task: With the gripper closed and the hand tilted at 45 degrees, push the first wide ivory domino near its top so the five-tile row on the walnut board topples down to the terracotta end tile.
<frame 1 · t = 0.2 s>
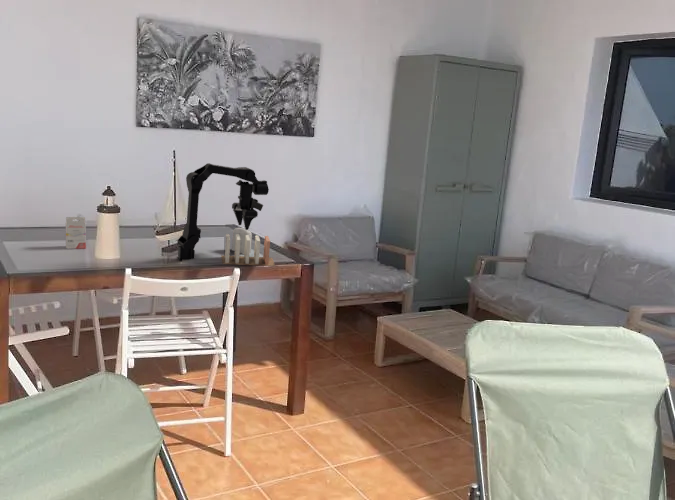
hand: (243, 227, 324), 14 cm above the table, tool pointing down, fingers open, 9 cm apart
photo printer: (241, 253, 334), on the table
domino 4: (256, 261, 320), point 1 cm above the table, touching walnut board
domino 3: (246, 260, 319), point 1 cm above the table, touching walnut board
domino 5: (265, 261, 321), point 1 cm above the table, touching walnut board
domino 2: (236, 260, 318), point 1 cm above the table, touching walnut board
ink cartridge box: (75, 247, 315), on the table
domino 1: (226, 259, 317), point 1 cm above the table, touching walnut board
walnut board: (247, 262, 319), on the table
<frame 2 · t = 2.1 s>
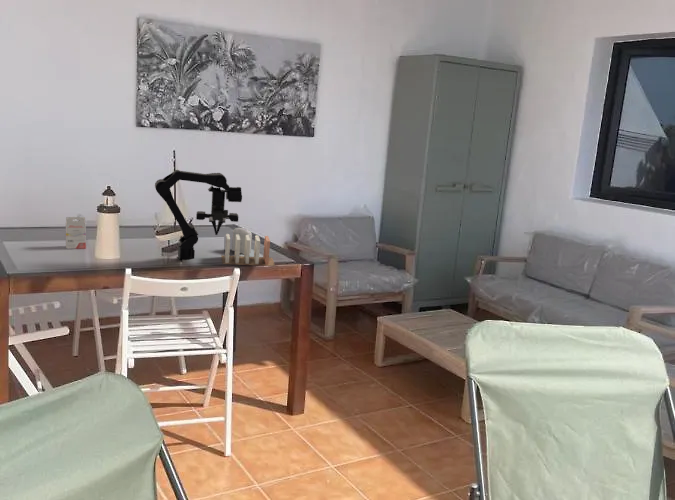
hand: (216, 234, 314), 12 cm above the table, tool pointing down, fingers closed
nothing on the table moved.
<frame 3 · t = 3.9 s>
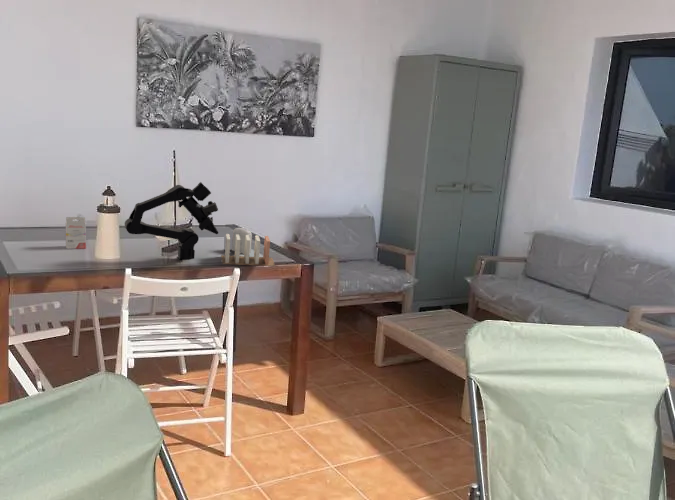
hand: (217, 233, 313), 13 cm above the table, tool tilted 45°, fingers closed
nothing on the table moved.
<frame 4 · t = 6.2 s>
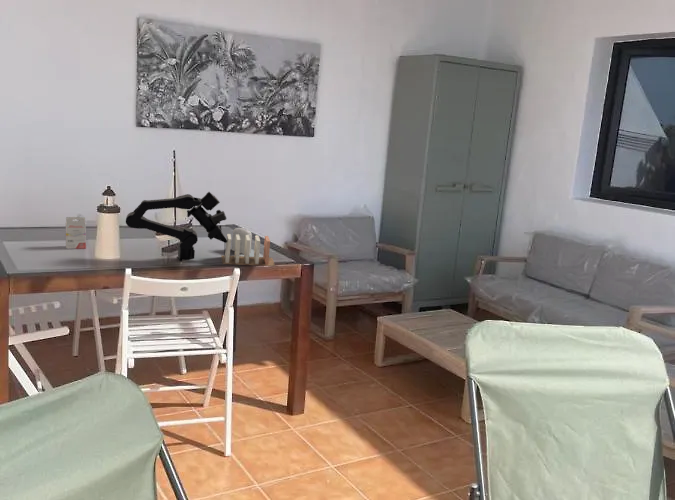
hand: (226, 242, 315), 9 cm above the table, tool tilted 45°, fingers closed
domino 1: (226, 259, 317), point 1 cm above the table, touching gripper, walnut board
everything else where it was.
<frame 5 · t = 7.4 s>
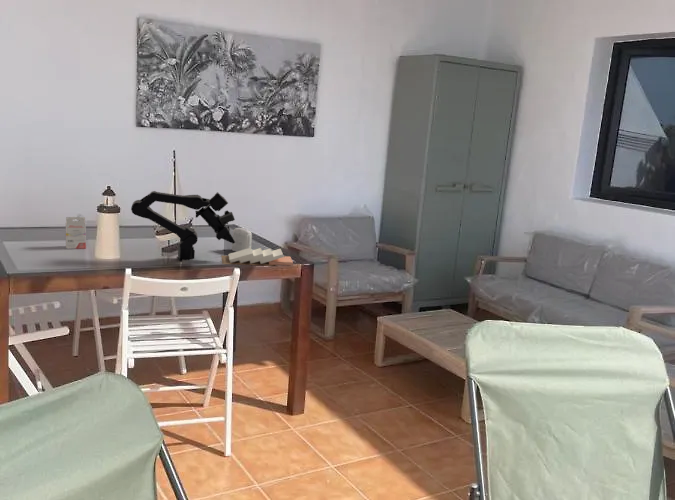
hand: (234, 242, 316), 9 cm above the table, tool tilted 45°, fingers closed
domino 4: (259, 259, 320), point 2 cm above the table, tilted 70°, touching domino 3, domino 5
domino 3: (249, 259, 319), point 2 cm above the table, tilted 70°, touching domino 2, domino 4, walnut board
domino 5: (268, 259, 321), point 2 cm above the table, tilted 90°, touching domino 4, walnut board
domino 2: (239, 258, 318), point 2 cm above the table, tilted 71°, touching domino 1, domino 3, walnut board
domino 1: (229, 258, 317), point 2 cm above the table, tilted 71°, touching domino 2, walnut board
everything else where it was.
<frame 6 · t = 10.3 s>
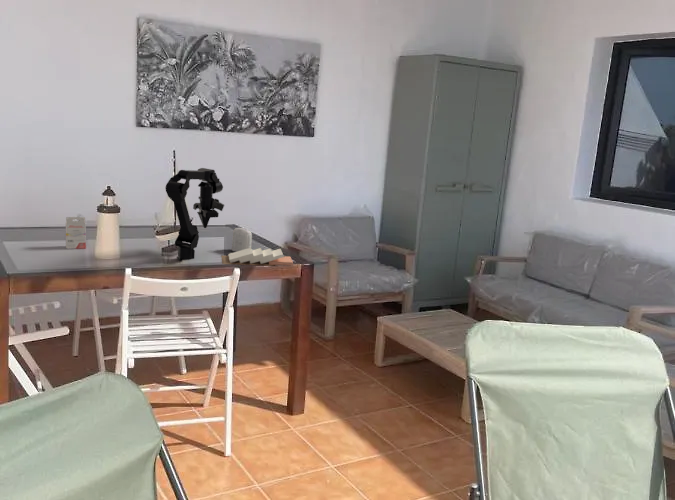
hand: (205, 227, 324), 12 cm above the table, tool pointing down, fingers closed
nothing on the table moved.
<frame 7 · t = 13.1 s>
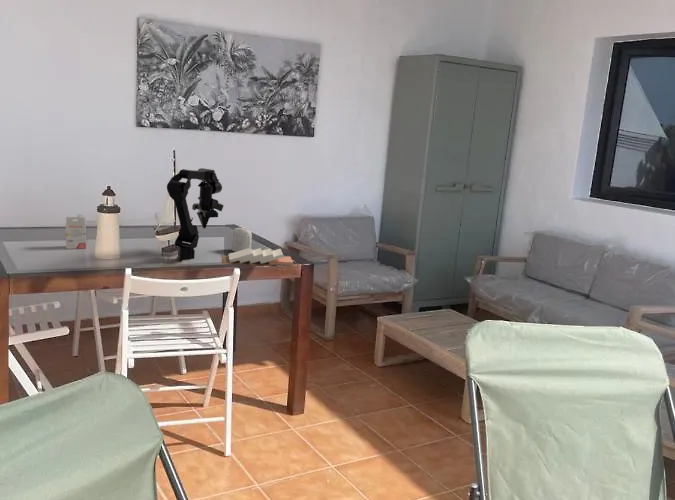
hand: (204, 228, 325), 12 cm above the table, tool pointing down, fingers closed
nothing on the table moved.
at the end: domino 5 tilted 90°; domino 3 tilted 70°; domino 1 tilted 71° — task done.
